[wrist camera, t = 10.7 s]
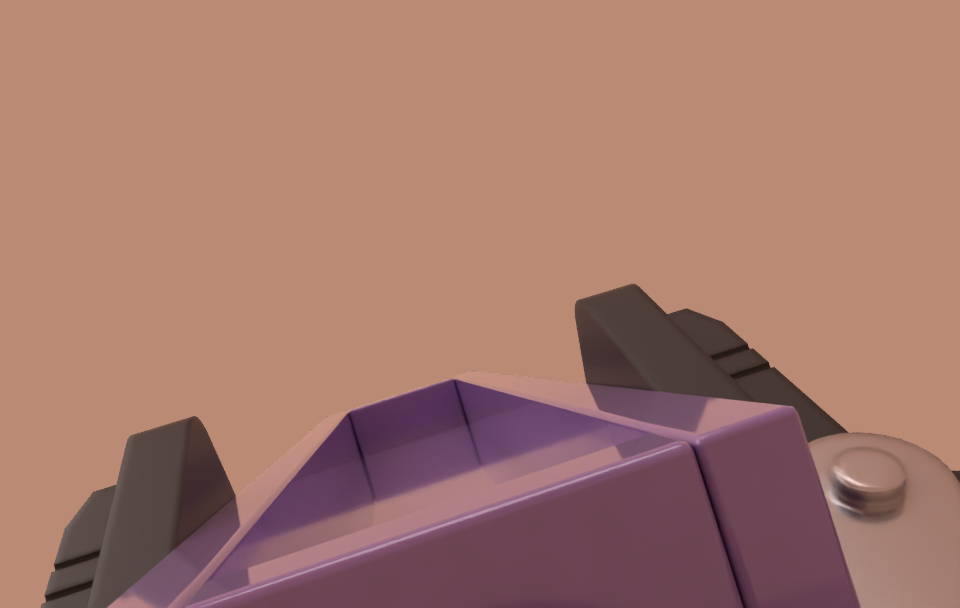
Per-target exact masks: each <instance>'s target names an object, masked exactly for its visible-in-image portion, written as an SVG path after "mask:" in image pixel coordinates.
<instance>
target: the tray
mask: <svg viewBox="0 0 960 608" xmlns="http://www.w3.org/2000/svg"><path fill="white" fill-rule="evenodd" d="M107 608H861V606H860V603H859V600H858V597H857V594H856V591H855V588H854V585H853V581H852V578H851V575H850V572H849V569H848V566H847V563H846V560H845V557H844V554H843V550H842V547H841V544H840V541H839V538H838V535H837V532H836V529H835V526H834V522H833V519H832V516H831V513H830V510H829V507H828V504H827V501H826V498H825V495H824V491H823V488H822V485H821V482H820V479H819V476H818V473H817V470H816V467H815V463H814V460H813V457H812V454H811V451H810V448H809V445H808V442H807V439H806V436H805V432H804V429H803V426H802V423H801V420H800V417H799V414H798V412H797V411H796V410H795V408H794V407H793V406H785V405H776V404H767V403H758V402H749V401H740V400H731V399H722V398H713V397H704V396H695V395H686V394H677V393H668V392H659V391H650V390H641V389H632V388H623V387H614V386H605V385H596V384H587V383H578V382H569V381H560V380H551V379H541V378H532V377H523V376H514V375H505V374H496V373H487V372H478V371H470V372H467V373H464V374H461V375H458V376H454V377H453V378H448V379H445V380H442V381H439V382H436V383H432V384H429V385H426V386H423V387H419V388H416V389H413V390H410V391H407V392H404V393H400V394H397V395H394V396H391V397H388V398H385V399H381V400H378V401H375V402H372V403H369V404H366V405H362V406H359V407H356V408H353V409H351V410H350V411H343V412H340V413H337V414H334V415H331V416H328V417H327V418H326V419H324V420H323V421H322V422H321V423H320V424H319V425H318V426H316V427H315V428H314V429H313V430H312V431H311V432H309V433H308V434H307V435H306V436H305V437H304V438H302V439H301V440H300V441H299V442H298V443H297V444H295V445H294V446H293V447H292V448H291V449H290V450H289V451H287V453H285V454H284V455H283V456H282V457H280V458H279V459H278V460H277V461H276V462H275V463H274V464H272V465H271V466H270V467H269V468H268V469H267V470H265V471H264V472H263V473H262V474H261V475H260V476H259V477H257V478H256V479H255V480H254V481H253V482H252V483H250V484H249V485H248V486H247V487H246V488H245V489H243V491H241V492H240V493H239V494H238V495H236V496H235V497H234V498H233V499H232V500H231V501H230V502H228V503H227V504H226V505H225V506H224V507H223V508H221V509H220V510H219V511H218V512H217V513H216V514H215V515H213V516H212V517H211V518H210V519H209V520H208V521H206V522H205V523H204V524H203V525H202V526H201V527H199V528H198V529H197V530H196V531H195V532H194V533H193V534H191V535H190V536H189V537H188V538H187V539H186V540H184V541H183V542H182V543H181V544H180V545H179V546H178V547H176V548H175V549H174V550H173V551H172V552H170V553H169V554H168V555H167V556H166V557H165V558H164V559H162V560H161V561H160V562H159V563H158V564H157V565H155V566H154V567H153V568H152V569H151V570H150V571H149V572H147V573H146V574H145V575H144V576H143V577H142V578H140V579H139V580H138V581H137V582H136V583H135V584H133V585H132V586H131V587H130V588H129V589H128V590H127V591H125V592H124V593H123V594H122V595H121V596H120V597H118V598H117V599H116V600H115V601H114V602H113V603H111V604H110V605H109V606H108V607H107Z"/></svg>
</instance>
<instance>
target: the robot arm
mask: <svg viewBox="0 0 960 608" xmlns="http://www.w3.org/2000/svg"><path fill="white" fill-rule="evenodd" d="M575 318H576V325H577V331H578V337H579V342H580V349H581V354H582V361H583V366H584V372H585V378H586V383H587V384H596V385H605V386H614V387H623V388H632V389H641V390H650V391H659V392H668V393H677V394H686V395H695V396H704V397H713V398H722V399H731V400H740V401H749V402H758V403H767V404H776V405H785V406H793V407H794V408H795V410H796V411H797V412H798V414H799V417H800V420H801V423H802V426H803V429H804V432H805V436H806V439H807V442H808V445H809V448H810V451H811V454H812V457H813V460H814V463H815V467H816V470H817V473H818V476H819V479H820V482H821V485H822V488H823V491H824V495H825V498H826V501H827V504H828V507H829V510H830V513H831V516H832V519H833V522H834V526H835V529H836V532H837V535H838V538H839V541H840V544H841V547H842V550H843V554H844V557H845V560H846V563H847V566H848V569H849V572H850V575H851V578H852V581H853V585H854V588H855V591H856V594H857V597H858V600H859V603H860V606H861V608H960V471H951V470H950V469H949V468H948V466H947V465H946V464H944V463H943V462H942V461H941V460H940V459H939V458H938V457H936V456H935V455H933V454H932V453H930V452H929V451H927V450H925V449H923V448H921V447H919V446H917V445H915V444H913V443H910V442H907V441H904V440H902V439H898V438H894V437H890V436H886V435H880V434H872V433H848V432H847V431H846V430H845V429H844V428H843V427H842V426H840V425H839V424H838V423H837V422H836V421H835V420H834V419H833V418H831V417H830V416H829V415H828V414H827V413H826V412H825V411H823V410H822V409H821V408H820V407H819V406H818V405H817V404H816V403H814V402H813V401H812V400H811V399H810V398H809V397H808V396H806V395H805V394H804V393H803V392H802V391H801V390H800V389H798V388H797V387H796V386H795V385H794V384H793V383H792V382H790V381H789V380H788V379H787V378H786V377H785V376H784V375H783V374H781V373H780V372H779V371H778V370H777V369H776V368H775V367H773V368H770V366H769V362H768V361H767V360H765V359H764V358H763V357H762V356H761V355H760V354H759V353H757V352H756V351H755V350H754V349H749V347H748V344H747V343H746V342H745V341H744V340H743V339H742V338H740V337H739V336H738V335H737V334H736V333H735V332H734V331H733V330H731V329H730V328H729V327H728V326H727V325H725V323H723V322H721V321H719V320H716V319H713V318H710V317H708V316H705V315H702V314H700V313H697V312H694V311H691V310H689V309H683V310H680V311H677V312H673V313H670V314H666V313H665V312H664V311H663V310H662V309H661V308H660V307H659V306H658V305H657V304H656V303H655V302H654V301H653V300H652V299H651V298H650V297H649V296H648V295H647V294H646V293H645V292H644V291H643V290H642V289H641V288H640V287H639V286H637V285H636V284H630V285H626V286H623V287H620V288H617V289H613V290H610V291H607V292H603V293H600V294H597V295H594V296H590V297H587V298H584V299H580V300H578V301H577V302H576V304H575ZM235 496H236V495H235V493H234V491H233V489H232V486H231V484H230V482H229V480H228V478H227V475H226V473H225V471H224V468H223V466H222V464H221V462H220V460H219V457H218V455H217V453H216V451H215V449H214V447H213V444H212V442H211V439H210V437H209V435H208V433H207V431H206V429H205V427H204V425H203V424H202V422H201V421H200V420H199V419H198V418H197V417H195V416H193V417H190V418H187V419H183V420H180V421H177V422H173V423H170V424H167V425H164V426H160V427H157V428H154V429H151V430H147V431H144V432H141V433H137V434H134V435H131V436H130V437H129V438H128V440H127V443H126V448H125V452H124V456H123V460H122V464H121V468H120V472H119V477H118V481H117V485H114V486H111V487H108V488H105V489H101V490H98V491H95V492H93V493H92V494H91V496H90V497H89V498H88V500H87V501H86V502H85V503H84V505H83V506H82V507H81V509H80V510H79V511H78V512H77V514H76V515H75V516H74V518H73V519H72V520H71V522H70V523H69V524H68V526H67V527H66V528H65V531H64V534H63V537H62V540H61V544H60V547H59V551H58V553H57V557H56V560H55V563H54V566H55V571H54V572H52V573H51V576H50V579H49V583H48V586H47V589H46V592H45V598H46V603H43V604H42V606H41V608H107V607H108V606H109V605H110V604H111V603H113V602H114V601H115V600H116V599H117V598H118V597H120V596H121V595H122V594H123V593H124V592H125V591H127V590H128V589H129V588H130V587H131V586H132V585H133V584H135V583H136V582H137V581H138V580H139V579H140V578H142V577H143V576H144V575H145V574H146V573H147V572H149V571H150V570H151V569H152V568H153V567H154V566H155V565H157V564H158V563H159V562H160V561H161V560H162V559H164V558H165V557H166V556H167V555H168V554H169V553H170V552H172V551H173V550H174V549H175V548H176V547H178V546H179V545H180V544H181V543H182V542H183V541H184V540H186V539H187V538H188V537H189V536H190V535H191V534H193V533H194V532H195V531H196V530H197V529H198V528H199V527H201V526H202V525H203V524H204V523H205V522H206V521H208V520H209V519H210V518H211V517H212V516H213V515H215V514H216V513H217V512H218V511H219V510H220V509H221V508H223V507H224V506H225V505H226V504H227V503H228V502H230V501H231V500H232V499H233V498H234V497H235Z"/></svg>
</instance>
